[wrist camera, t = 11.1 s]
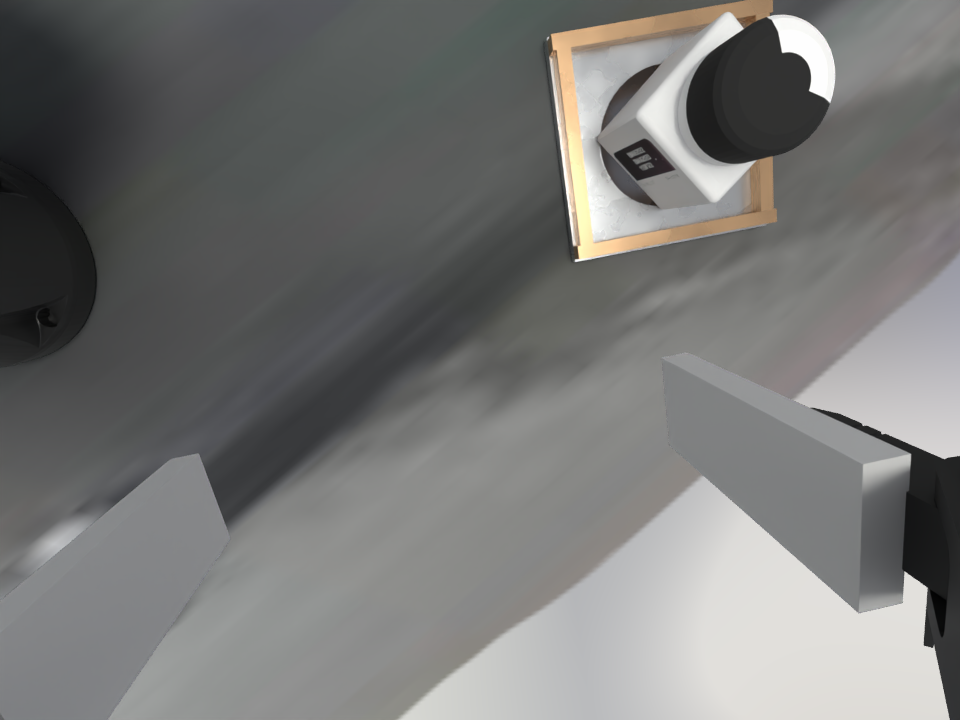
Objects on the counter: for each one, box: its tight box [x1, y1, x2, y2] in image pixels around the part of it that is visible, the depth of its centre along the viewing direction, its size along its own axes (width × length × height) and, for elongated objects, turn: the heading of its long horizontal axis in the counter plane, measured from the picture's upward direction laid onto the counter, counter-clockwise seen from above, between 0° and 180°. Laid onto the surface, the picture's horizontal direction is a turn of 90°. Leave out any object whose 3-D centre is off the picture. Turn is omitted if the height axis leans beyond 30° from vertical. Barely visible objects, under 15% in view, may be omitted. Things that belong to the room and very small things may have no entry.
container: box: [598, 12, 835, 209], centre depth 30 cm, size 8×8×13 cm
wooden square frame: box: [544, 0, 777, 262], centre depth 36 cm, size 16×16×2 cm
